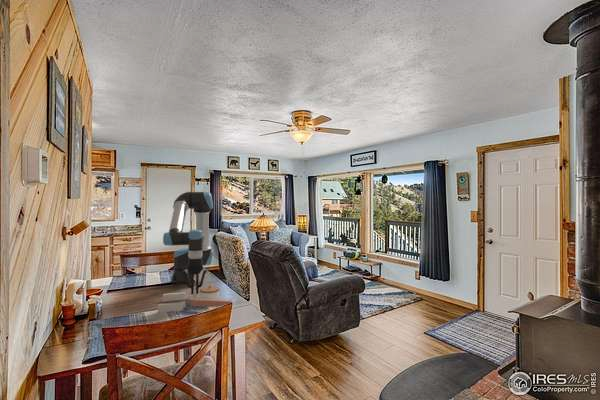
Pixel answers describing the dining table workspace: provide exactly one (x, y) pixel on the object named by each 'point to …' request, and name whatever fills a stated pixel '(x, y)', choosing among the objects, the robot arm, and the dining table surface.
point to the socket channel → (172, 306)
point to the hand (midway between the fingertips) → (194, 299)
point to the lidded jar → (209, 293)
